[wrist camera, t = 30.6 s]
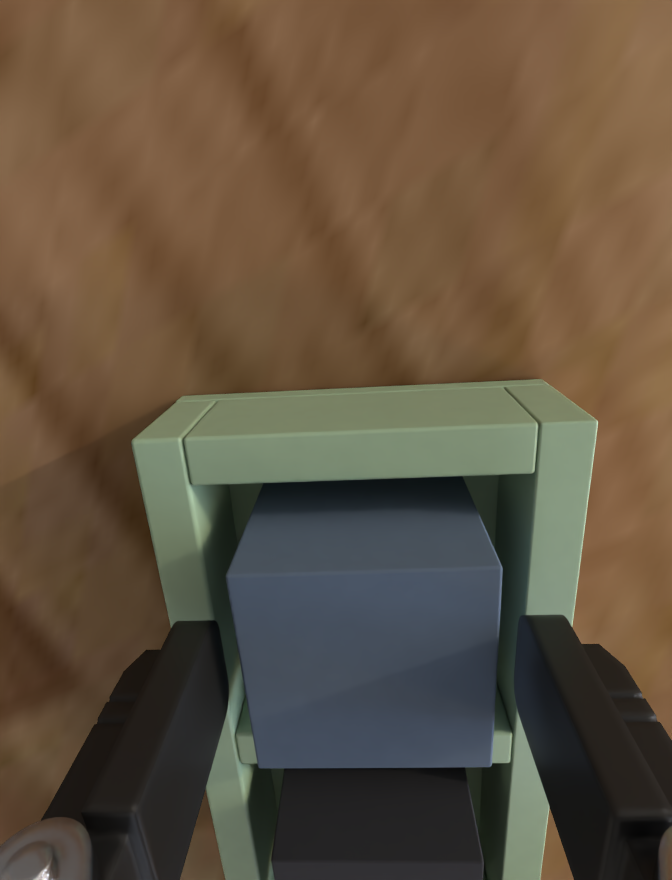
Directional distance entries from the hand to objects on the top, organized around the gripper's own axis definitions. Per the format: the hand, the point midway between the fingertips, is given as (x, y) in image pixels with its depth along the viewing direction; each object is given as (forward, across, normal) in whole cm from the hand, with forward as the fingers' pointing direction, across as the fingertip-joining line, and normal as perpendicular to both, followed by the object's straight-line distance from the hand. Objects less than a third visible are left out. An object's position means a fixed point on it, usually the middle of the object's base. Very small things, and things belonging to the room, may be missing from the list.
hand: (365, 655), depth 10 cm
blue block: (+3, 0, 0) cm, 3 cm away
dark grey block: (+3, 0, +7) cm, 8 cm away
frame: (+4, 0, +4) cm, 5 cm away
